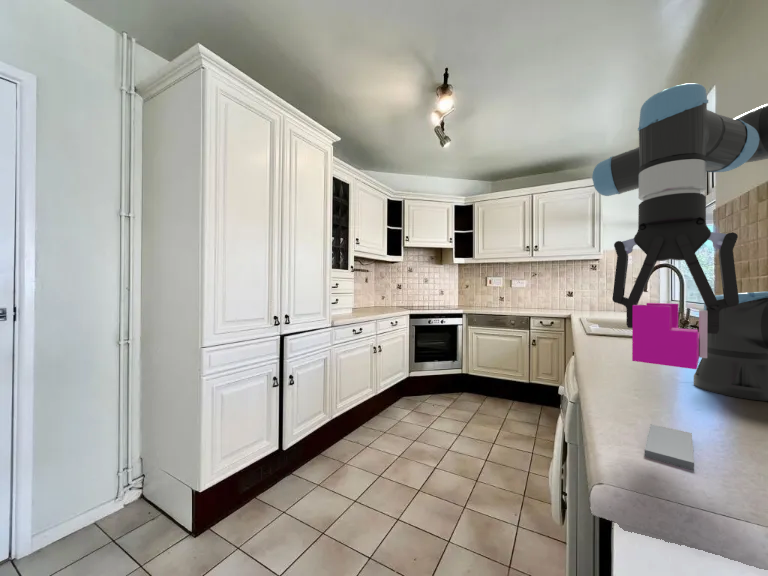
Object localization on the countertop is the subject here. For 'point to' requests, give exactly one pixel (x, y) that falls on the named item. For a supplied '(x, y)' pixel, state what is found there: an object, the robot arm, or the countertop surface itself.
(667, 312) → the toy block
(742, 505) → the countertop surface
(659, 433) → the baseplate
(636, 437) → the countertop surface
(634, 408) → the countertop surface
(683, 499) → the countertop surface
